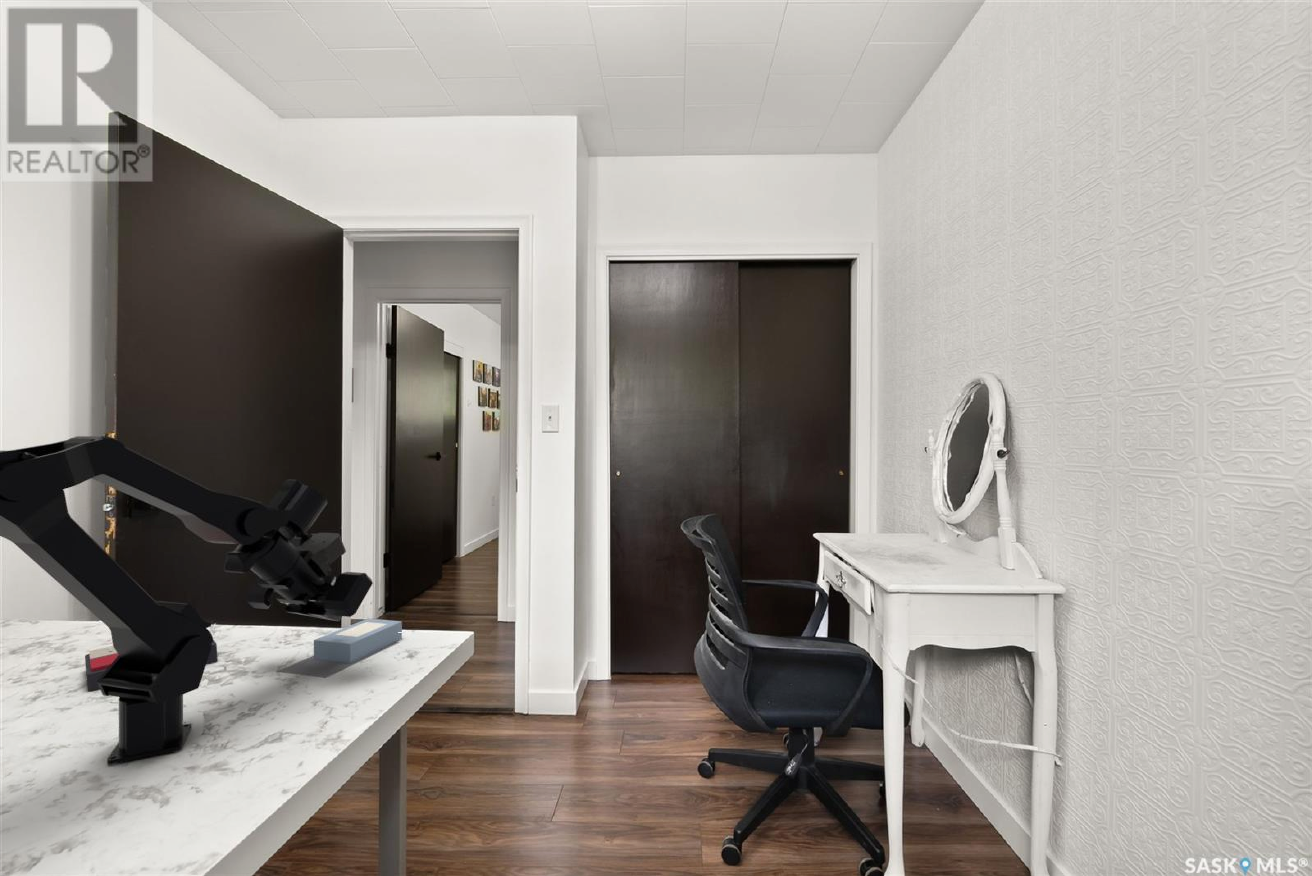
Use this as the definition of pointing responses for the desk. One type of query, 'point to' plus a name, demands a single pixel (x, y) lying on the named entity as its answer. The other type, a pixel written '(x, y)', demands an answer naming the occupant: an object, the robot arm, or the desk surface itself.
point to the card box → (357, 640)
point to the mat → (323, 665)
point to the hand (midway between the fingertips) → (339, 618)
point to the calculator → (105, 656)
